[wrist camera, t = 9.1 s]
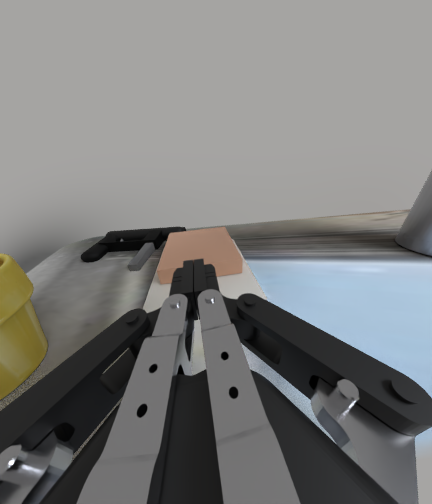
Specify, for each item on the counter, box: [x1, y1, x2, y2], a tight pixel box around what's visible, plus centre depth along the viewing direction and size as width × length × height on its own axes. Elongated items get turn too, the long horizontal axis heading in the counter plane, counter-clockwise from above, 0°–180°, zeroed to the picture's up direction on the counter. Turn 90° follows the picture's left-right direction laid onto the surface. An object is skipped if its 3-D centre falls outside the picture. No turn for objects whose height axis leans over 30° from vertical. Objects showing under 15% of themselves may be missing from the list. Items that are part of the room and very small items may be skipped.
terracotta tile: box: [157, 227, 243, 284], centre depth 28 cm, size 12×2×14 cm
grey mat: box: [143, 239, 267, 313], centre depth 26 cm, size 15×18×1 cm
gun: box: [81, 227, 186, 271], centre depth 34 cm, size 3×20×16 cm
